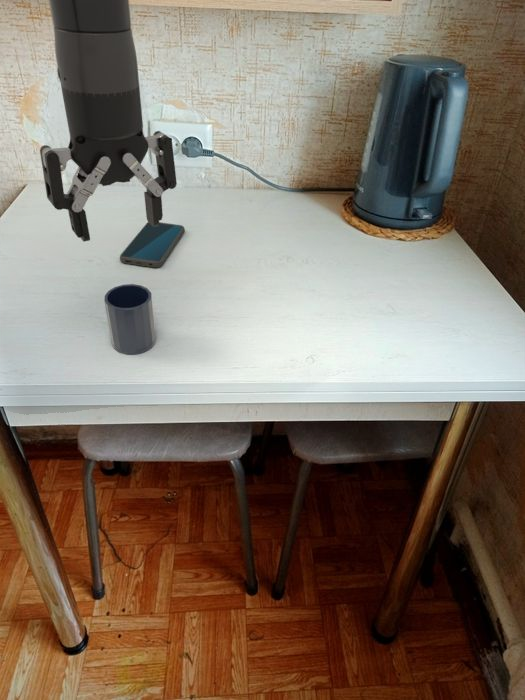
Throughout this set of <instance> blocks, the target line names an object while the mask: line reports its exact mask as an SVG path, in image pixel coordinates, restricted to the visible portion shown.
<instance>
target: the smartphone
mask: <svg viewBox="0 0 525 700" xmlns="http://www.w3.org/2000/svg"><path fill="white" fill-rule="evenodd" d="M184 233H185V226H183V225H182V224H174V223H167V222H161V221H159V225H158V226H154V227H153V226H152V225H151V224H150V223H149V222H148V221H147V223H145V225H144V226H143V227H142V228H141V229H140V231H139V232H138V233H137V235H135V237H133V239H132V240H131V242H130V243H129V244H128V245H127V246H126V247H125V249H124V250H123V251H122V253H120V255H119V261H120V263H123V264H128V265H135V266H140V267H141V266H142V267H146V268H147V267H148V268H160V267H161V266H163V264H164V263H165V261H166V259H167V258H168V256H169V255H170V254H171V253H172V251H173V250H174V248H175V246H176V245H177V243H178V242H179V240H180V239H181V237H182V236H183V234H184Z"/></svg>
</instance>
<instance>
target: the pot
mask: <svg viewBox="0 0 525 700" xmlns="http://www.w3.org/2000/svg"><path fill="white" fill-rule="evenodd" d="M152 295H153V294H152V292H151V291H150V289H149V288H148V287H145V286H143V285H140V284H134V283H128V284H121V285H117V286H114V287H113V288H110V289H109V290H107V292H106V293H105V295H104V301H103V302H104V307H105V313H106V320H107V325H108V330H109V337H110V343H111V345H112V347H113V349H114V350H115V351H116V352H118V353H120V354H123V355H131V356H134V355H135V356H136V355H140V354H143V353H146V352H147V351H149V350H151V349H152V348H153V347H154V346H155V344H156V340H157V337H156V326H155V318H154V317H155V316H154V306H153V296H152Z"/></svg>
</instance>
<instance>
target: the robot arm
mask: <svg viewBox="0 0 525 700" xmlns="http://www.w3.org/2000/svg"><path fill="white" fill-rule="evenodd" d="M48 3H49V8H50V15H51V21H52V25H53V33H54V34H53V35H54V52H55V53H54V54H55V60H56V67H57V69H56V73H57V77H58V79H59V82H60V88H61V94H62V98H63V105H64V110H65V116H66V123H67V127H68V132H69V143H68V146H67V147H55V148H52V147H51V146H49V145H47V144H44V145H42V146H41V147H40V148H39V154H40V160H41V167H42V174H43V180H44V186H45V193H46V198H47V200H48V201H49V202H50V204H51V205H52V207H54V209H56V210H57V211H61V210H67V212H68V216H69V222H70V227H71V230H72V232H73V233H74V235H76V237H77V238H78V239H79V238H80V239H81V240H82V242H84V243H85V242H89V241H91V236H90V230H89V229H90V228H89V223H88V218H87V213H86V212H87V211H85V209H84V207H85V206H86V203H87V202H88V200H89V198H90V197H91V196H93V195H94V194H95V191H96V190H97V188H98V186H99V185H101V186H102V187H106V186H111V185H113V184H115V183H130V182H131V180H132V179H133V178H134V177H135V178H136V179H137V180H138V181H139V182H140V184H141V185H143V187H145V188H146V191H143V194H144V196H143V197H144V205H145V206H144V207H145V216H146V220H147V221H146V222H147V223H148V222H149V223H150V224H151V225H152V226H153V227H154V226H158V225H159V222H161V221H162V220H163V216H164V214H163V201H162V200H163V199H162V195H163V194H164V192H165V191H167V190H174V189H175V188H176V187H177V174H176V164H175V156H174V147H173V141H172V138H171V137H170V136H168V135H167V134H166V133H164V132H162V131H160V130H156V131H154V133H153V134H152V135H149V136H145V135H144V123H143V122H144V121H143V111H142V110H143V109H142V99H141V89H140V79H139V66H138V57H137V50H136V46H135V41H134V36H133V29H132V19H131V8H130V0H48ZM149 149H150V152H151V153H152V154H153V155H155V160H156V170H157V177H155V178H154V177H153V176H152V175H151V174H150V173H149V171H147V169H146V168H145V167H144V166H143V165H142V163H143V162H144V161H143V160H144V159H145V157H146V155H147V153H148V151H149ZM70 160H71V161H72V162H73V163H74V164H76V165H77V169H76V171H75V173H74V174H73V176H72V180H71V184H70V187H69V189H68V191H67V192H66V193H65V192H64V184H63V176H62V172H64V171H65V170H66V169H67V163H68V162H69V161H70Z"/></svg>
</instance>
